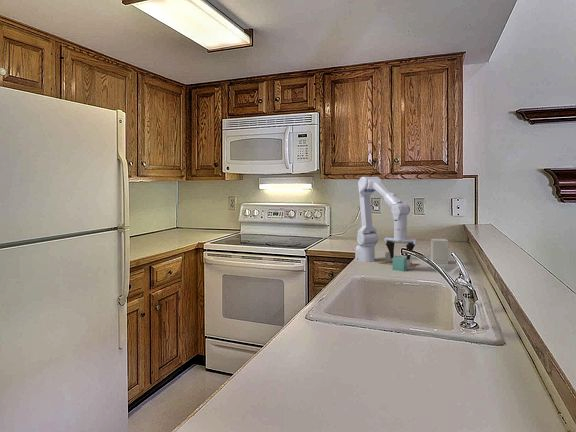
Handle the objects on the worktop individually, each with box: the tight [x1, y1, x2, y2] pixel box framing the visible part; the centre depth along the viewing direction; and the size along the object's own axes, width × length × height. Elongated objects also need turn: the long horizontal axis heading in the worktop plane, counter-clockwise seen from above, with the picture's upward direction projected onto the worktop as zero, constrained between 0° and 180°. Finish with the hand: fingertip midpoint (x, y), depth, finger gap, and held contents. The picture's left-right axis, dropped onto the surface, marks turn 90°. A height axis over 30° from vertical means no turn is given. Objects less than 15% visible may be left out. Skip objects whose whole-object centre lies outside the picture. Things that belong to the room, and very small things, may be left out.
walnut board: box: [377, 259, 420, 269], centre depth 194 cm, size 18×9×1 cm, turn 55°
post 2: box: [404, 255, 413, 266], centre depth 191 cm, size 3×3×5 cm
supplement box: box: [429, 238, 449, 265], centre depth 195 cm, size 7×7×13 cm
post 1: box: [384, 251, 393, 263], centre depth 197 cm, size 3×3×5 cm
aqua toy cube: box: [392, 255, 408, 272], centre depth 182 cm, size 5×5×7 cm
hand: (400, 258), depth 181 cm, fingers open, 7 cm apart
